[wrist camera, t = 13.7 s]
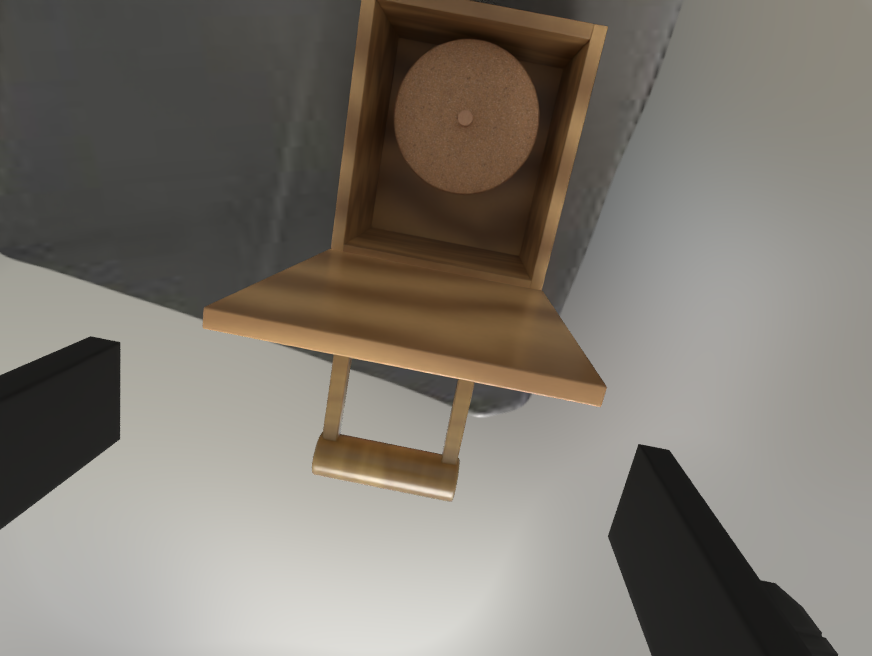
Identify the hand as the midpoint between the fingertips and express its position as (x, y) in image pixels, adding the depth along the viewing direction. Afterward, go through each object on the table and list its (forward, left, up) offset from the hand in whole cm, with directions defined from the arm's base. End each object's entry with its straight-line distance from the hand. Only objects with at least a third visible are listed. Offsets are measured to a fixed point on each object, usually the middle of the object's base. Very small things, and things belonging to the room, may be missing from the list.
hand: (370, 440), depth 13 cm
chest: (-8, 0, -38) cm, 39 cm away
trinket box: (-10, 0, -38) cm, 39 cm away
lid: (0, 0, -17) cm, 17 cm away
